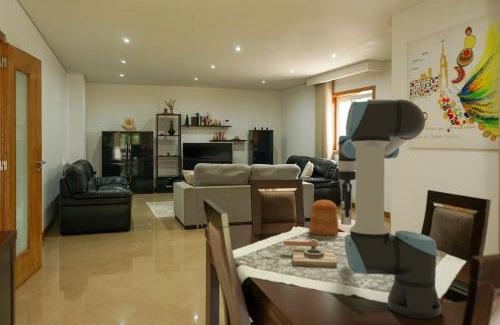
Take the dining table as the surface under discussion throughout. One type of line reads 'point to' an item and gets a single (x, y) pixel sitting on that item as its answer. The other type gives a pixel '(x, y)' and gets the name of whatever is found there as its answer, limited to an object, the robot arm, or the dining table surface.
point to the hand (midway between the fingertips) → (346, 223)
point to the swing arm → (301, 243)
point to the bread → (324, 218)
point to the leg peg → (343, 212)
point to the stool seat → (314, 257)
